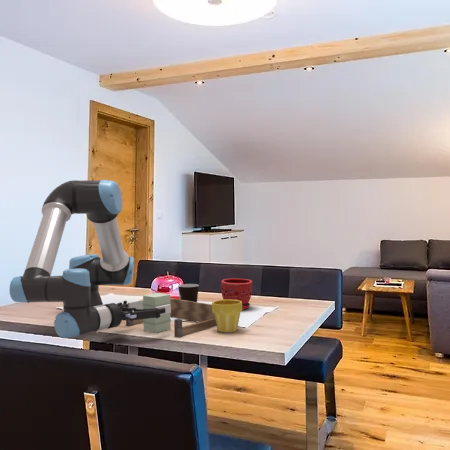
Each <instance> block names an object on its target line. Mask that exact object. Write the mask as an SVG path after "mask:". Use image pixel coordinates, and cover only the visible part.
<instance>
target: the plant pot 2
mask: <svg viewBox="0 0 450 450" xmlns="http://www.w3.org/2000/svg"><path fill="white" fill-rule="evenodd" d="M211 304H212V312H213V313H214V315H215V320H216V324H217V326H216V328H217V331H219V332H221V333H235V332H237V331H238V327H239V321H240V317H241V313H242V311H243V310H242V302H241V301H239V300H223V299H218V300H214V301H212V302H211Z"/></svg>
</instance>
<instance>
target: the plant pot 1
mask: <svg viewBox="0 0 450 450" xmlns="http://www.w3.org/2000/svg"><path fill="white" fill-rule="evenodd" d="M220 285H221V286H220V288H221V290H220V291H221V296H222V300H239V301H241V302H242V311H244V310H247V309H248V308H250V306H251V304H250V300H251V298H252V293H253V280H251V279H247V278H236V277H235V278H232V277H231V278H224V279H222V280H221V283H220Z"/></svg>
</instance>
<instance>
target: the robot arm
mask: <svg viewBox="0 0 450 450" xmlns="http://www.w3.org/2000/svg"><path fill="white" fill-rule="evenodd" d="M122 209H123V196H122V191H121V188H120V186H119V184H118V183H117V182H116V181H114V180H109V179H108V180H107V179H101V180H99V179H97V180H94V179H93V180H91V179H90V180H77V179H75V180H74V179H73V180H68V181H65V182H63V183H61V184H59V185H58V186H57V187H56V188H54V189H53V190H52V191H51V192H50V193H49V194H48V196H47V197H46V199H45V200H44V202H43V205H42V207H41V214H42V218H41V220H40V224H39V227H38V229H37V233H36V236H35V238H34V242H33V246H32V248H31V251H30V254H29V256H28V260H27V263H26V265H25V268H24V272H23V274H22V276H21V275H19V276H14V277H13V278H12V279H11V281H10V282H9V283H10V284H9V296H10V298H11V300H12V301H13V302H15V303H27V304H29V303H62V304H63V306H62V308H63V311H62V312H59V313H57V314H56V316H55V320H54V321H53V322H54V324H53V325H54V330H55V332H56V334H57V335H58V337H60V338H61V339H69V338H74V337H75V338H76V337H80V336H85V335H86V334H87V335H88V334H91V333H97V334H98V333H99V332H100V331H104V330H107V329H113V328H116V327H118V326H120V324H121V323H122V321H126V320H128V319H130V321H133V320H139V319H149V318H156V319H158V318H159V317H160V315H163V314H167V313H171V304H168V305H163V306H159V307H155V308H150V309H143V299H140V300H134V301H129V302H128V300H123V302H121V301H120V302H118V303H115V302H112V303H106V304H104V303H103V301H102V298H101V294H100V291H99V286H127V285H131V284H132V283H133V280H134V279H133V278H134V269H135V258H134V257H133V256H130V255H129V254H128V253H127V252H126V250H124V246H123V242H122V236H121V232H120V229H119V223H118V219H117V217H118V215H119V213H121V212H122ZM75 214H77V215H78V214H79V215H81V214H83V215H84V214H85V215H86V217H87V219H88V220H89V221H90V222H91V223H92V224H93V226H94V227H93V228H94V231H95V233H96V234H95V235H96V239H97V242H98V246H99V250H100V254H101V256H100V257H99V254H98V253H93V254H92V253H91V254H86V255H85V254H84V255H79V256H74V257H71V258H70V260H69V262H68V263H69V264H68V268H67V269H64V270H63V271H62V275H52V271H53V268H54V265H55V261H56V257H57V255H58V251H59V247H60V245H61V241H62V237H63V234H64V230H65V228H66V224H67V222H68V221H70V219H71V217H72V215H75ZM132 310H133V312H132Z"/></svg>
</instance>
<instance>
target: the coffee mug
mask: <svg viewBox="0 0 450 450" xmlns="http://www.w3.org/2000/svg"><path fill="white" fill-rule="evenodd" d="M177 287H178V294H179V299H180V300H186V301H193V302H198V298H199V289H200V288H199V287H200V285H199V284H196V283H185V284H184V283H183V284H179V285H178V286H177Z"/></svg>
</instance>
